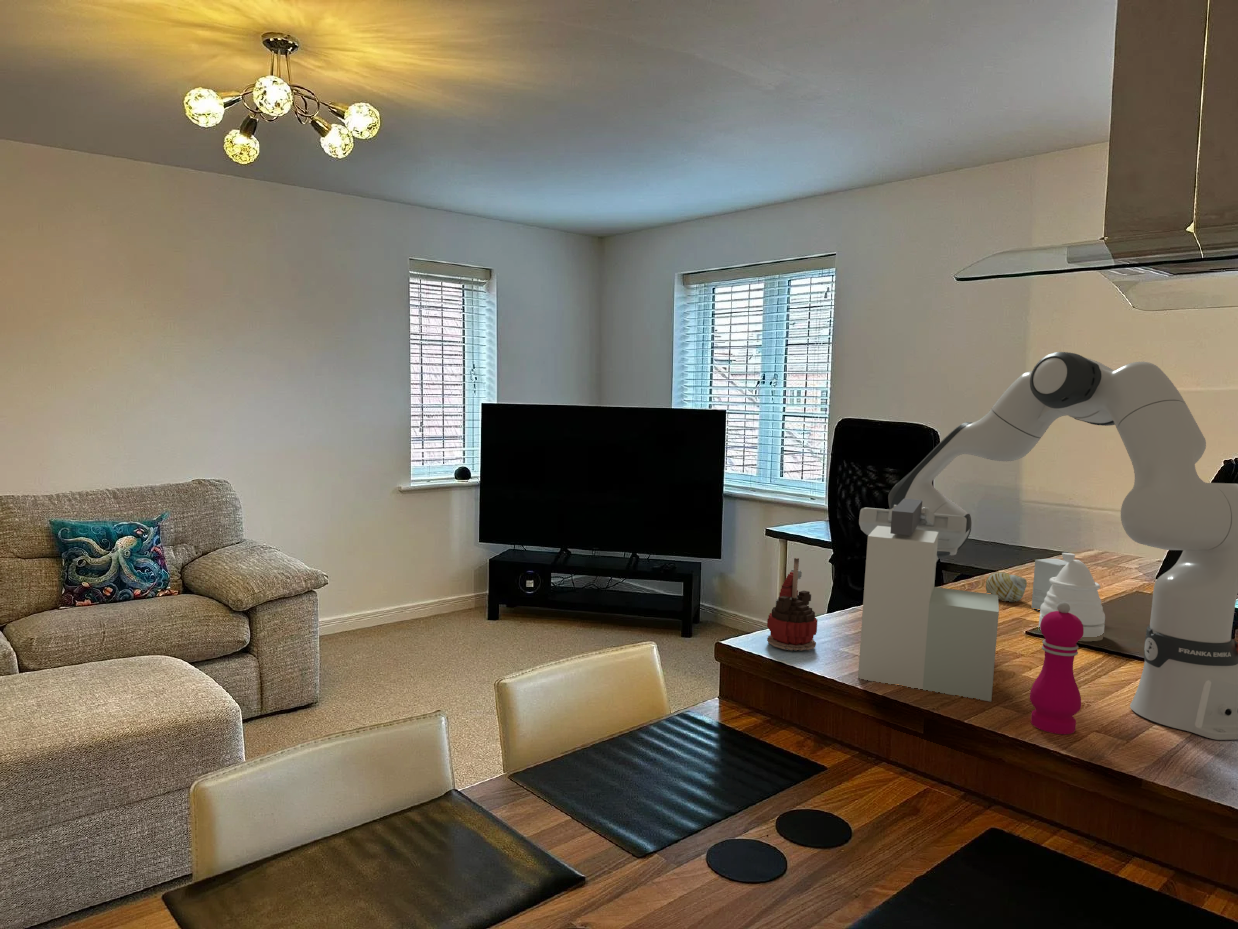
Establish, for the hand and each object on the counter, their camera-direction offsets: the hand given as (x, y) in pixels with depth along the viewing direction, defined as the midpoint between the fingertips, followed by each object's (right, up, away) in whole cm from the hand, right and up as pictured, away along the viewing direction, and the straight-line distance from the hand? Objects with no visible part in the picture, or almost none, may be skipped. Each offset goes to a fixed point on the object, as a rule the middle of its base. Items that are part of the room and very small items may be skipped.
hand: (910, 509), depth 164 cm
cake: (-22, -28, +7) cm, 36 cm away
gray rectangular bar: (-3, -3, -5) cm, 7 cm away
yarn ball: (+44, -27, +57) cm, 76 cm away
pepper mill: (+12, -33, -30) cm, 46 cm away
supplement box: (+51, -28, +45) cm, 74 cm away
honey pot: (+45, -29, +26) cm, 59 cm away
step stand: (0, -30, -9) cm, 32 cm away
